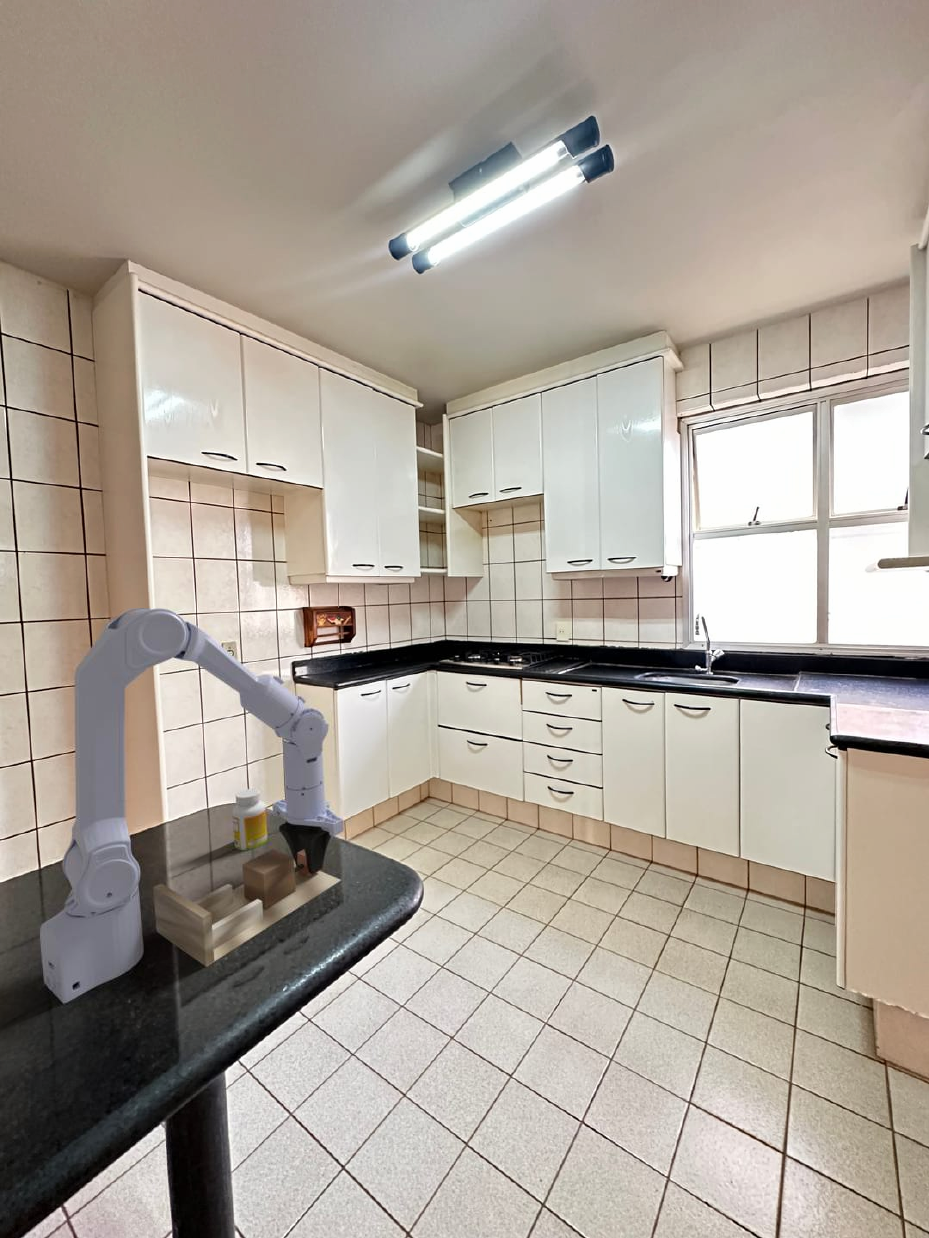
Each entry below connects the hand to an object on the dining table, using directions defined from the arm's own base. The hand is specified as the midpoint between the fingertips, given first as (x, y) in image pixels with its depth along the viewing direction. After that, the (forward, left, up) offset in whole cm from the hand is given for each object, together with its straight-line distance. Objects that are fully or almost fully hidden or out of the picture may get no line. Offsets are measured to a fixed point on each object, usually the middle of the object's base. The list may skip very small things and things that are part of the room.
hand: (309, 867), depth 82 cm
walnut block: (-4, 0, -1) cm, 4 cm away
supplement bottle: (+1, +17, -2) cm, 17 cm away
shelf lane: (-10, 0, -1) cm, 10 cm away
